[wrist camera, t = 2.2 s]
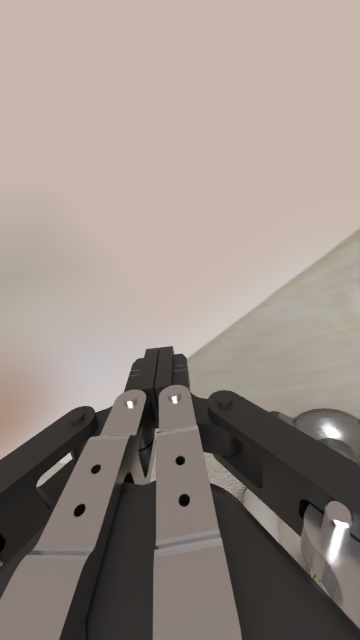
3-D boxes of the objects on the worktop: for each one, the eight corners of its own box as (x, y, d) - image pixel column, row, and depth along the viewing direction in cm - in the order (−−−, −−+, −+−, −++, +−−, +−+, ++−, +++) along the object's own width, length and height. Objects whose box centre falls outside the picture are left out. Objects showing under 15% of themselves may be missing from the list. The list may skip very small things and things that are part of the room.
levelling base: (279, 488, 44) (281, 545, 35) (264, 408, 42) (263, 447, 33) (405, 503, 37) (449, 579, 28) (394, 408, 35) (439, 456, 26)
